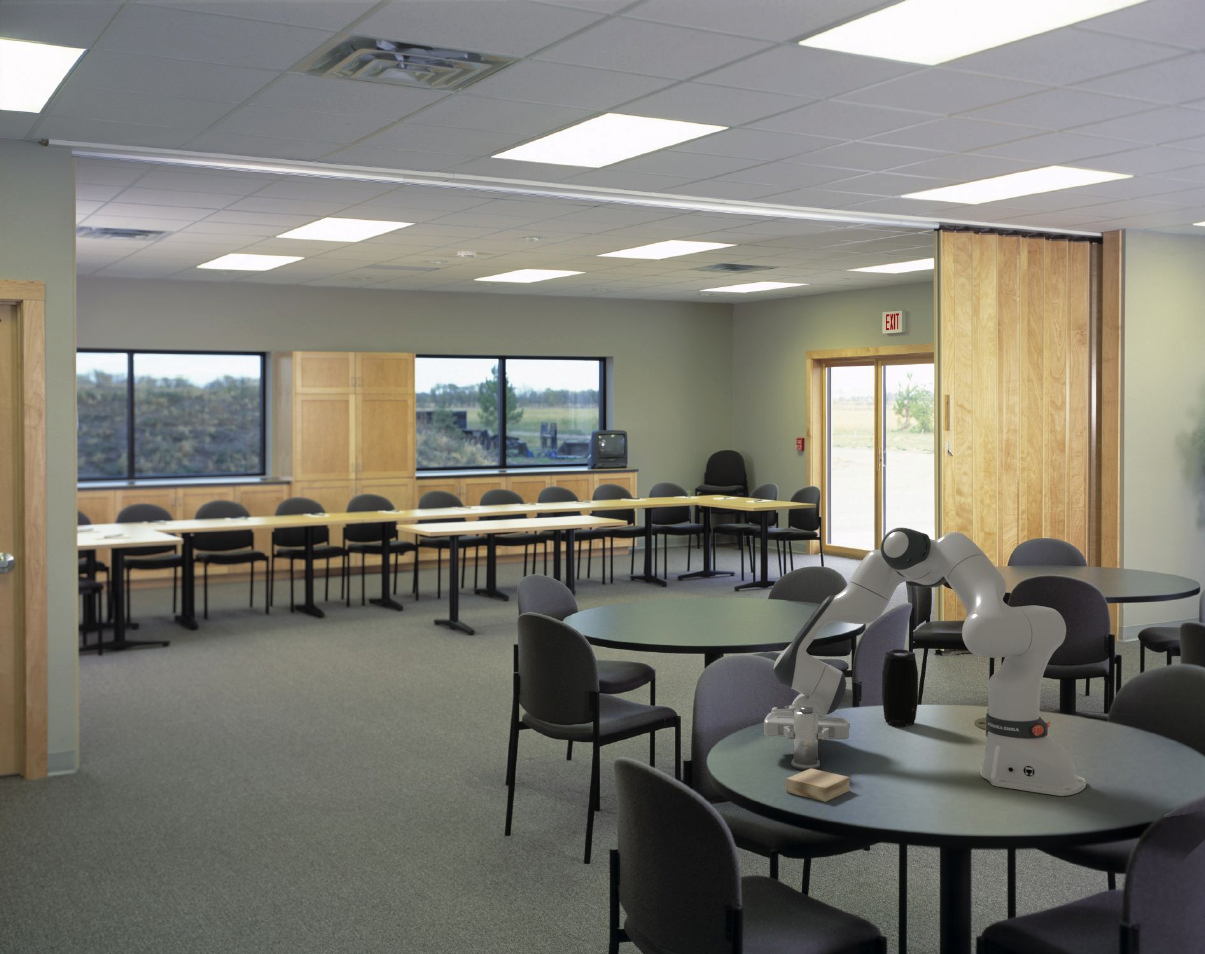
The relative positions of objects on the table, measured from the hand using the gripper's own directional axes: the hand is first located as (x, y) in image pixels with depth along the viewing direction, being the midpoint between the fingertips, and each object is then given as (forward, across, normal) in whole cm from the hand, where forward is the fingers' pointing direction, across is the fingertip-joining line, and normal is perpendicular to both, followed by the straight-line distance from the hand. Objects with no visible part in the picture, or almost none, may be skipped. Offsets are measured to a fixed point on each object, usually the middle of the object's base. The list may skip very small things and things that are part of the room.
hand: (805, 736), depth 270 cm
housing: (-1, 0, -8) cm, 8 cm away
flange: (-47, -51, -8) cm, 70 cm away
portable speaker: (-45, -24, -8) cm, 51 cm away
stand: (+17, -3, -8) cm, 19 cm away
